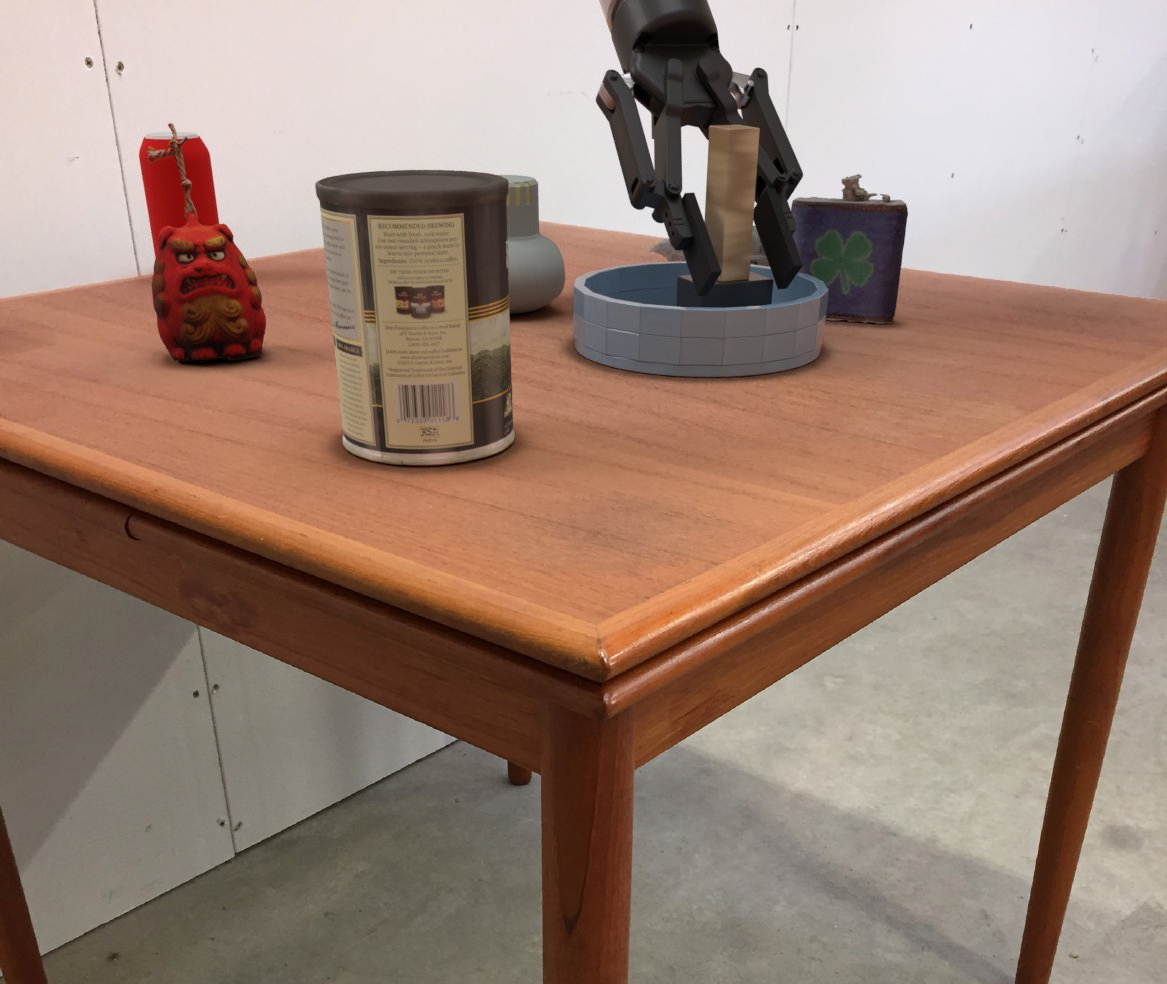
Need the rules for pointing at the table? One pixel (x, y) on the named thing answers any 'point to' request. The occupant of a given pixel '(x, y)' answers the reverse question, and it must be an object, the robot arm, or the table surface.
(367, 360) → the coffee can
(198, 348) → the red clay folk toy
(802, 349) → the bowl
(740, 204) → the brush
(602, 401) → the table surface
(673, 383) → the table surface
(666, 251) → the packaged food
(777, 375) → the table surface
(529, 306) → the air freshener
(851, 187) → the flask
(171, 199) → the beverage can
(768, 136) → the robot arm
